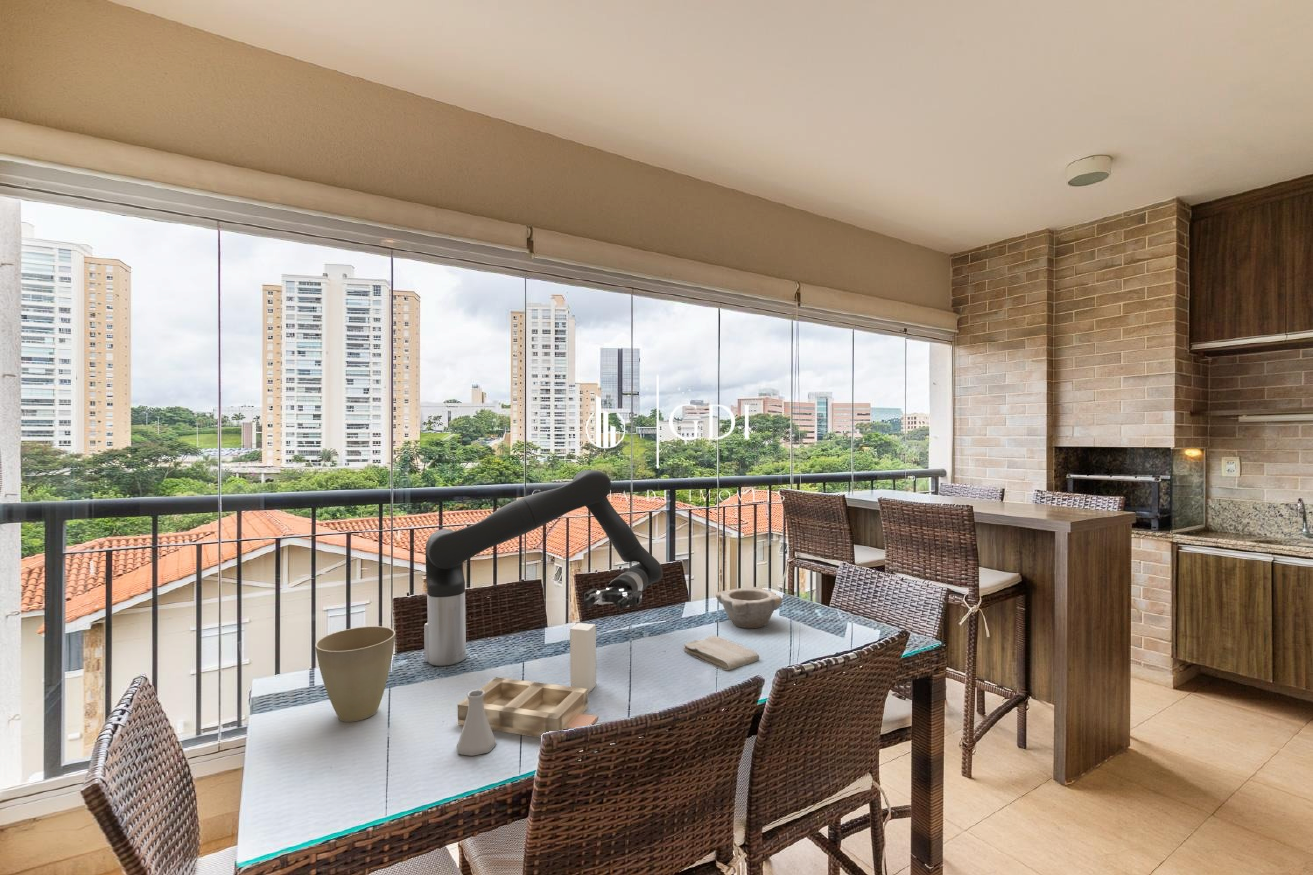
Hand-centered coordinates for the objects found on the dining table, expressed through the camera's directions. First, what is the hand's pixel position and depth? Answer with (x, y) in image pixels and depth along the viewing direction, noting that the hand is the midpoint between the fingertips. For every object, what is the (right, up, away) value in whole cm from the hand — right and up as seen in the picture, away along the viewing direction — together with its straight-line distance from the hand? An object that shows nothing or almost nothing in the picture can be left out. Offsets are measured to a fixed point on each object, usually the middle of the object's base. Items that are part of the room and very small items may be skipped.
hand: (602, 605), depth 148 cm
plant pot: (-49, -16, -23) cm, 56 cm away
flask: (-20, -16, -36) cm, 44 cm away
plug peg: (-3, -16, -11) cm, 19 cm away
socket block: (-12, -16, -25) cm, 32 cm away
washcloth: (+30, -16, +8) cm, 35 cm away
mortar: (+41, -15, +34) cm, 56 cm away
